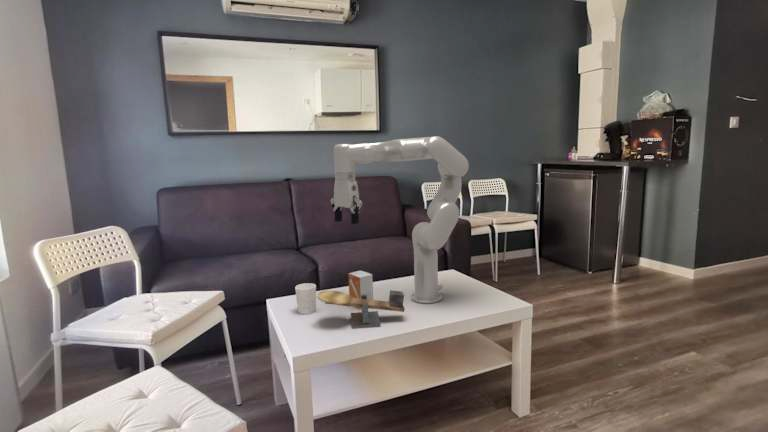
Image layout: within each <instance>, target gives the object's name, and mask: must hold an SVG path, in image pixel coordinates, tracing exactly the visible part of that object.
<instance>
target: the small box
mask: <svg viewBox="0 0 768 432" xmlns="http://www.w3.org/2000/svg"><path fill="white" fill-rule="evenodd" d="M347 275H348V295H350V296H351V297H352V298H361V295H367V299H371V300H374V286H373V285H374V283H373V282H374V281H373V274H372V273H370V272H368V271H364V270H357V271H352V272H349V273H348V274H347ZM356 308H358V309H359V310H362V308H361V307H356Z"/></svg>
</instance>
